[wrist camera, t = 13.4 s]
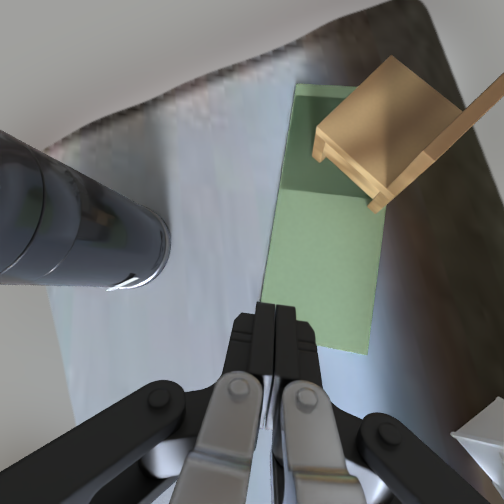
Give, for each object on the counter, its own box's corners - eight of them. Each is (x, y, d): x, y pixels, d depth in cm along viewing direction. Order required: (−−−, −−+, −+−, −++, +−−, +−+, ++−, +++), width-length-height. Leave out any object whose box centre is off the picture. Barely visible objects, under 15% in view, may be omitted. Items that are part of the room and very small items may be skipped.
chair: (311, 155, 33) (325, 69, 20) (372, 97, 33) (426, -27, 20) (375, 214, 31) (434, 161, 18) (439, 153, 31) (544, 57, 18)
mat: (255, 333, 32) (255, 333, 32) (296, 84, 35) (296, 83, 34) (366, 354, 30) (367, 355, 30) (400, 90, 33) (401, 89, 32)
